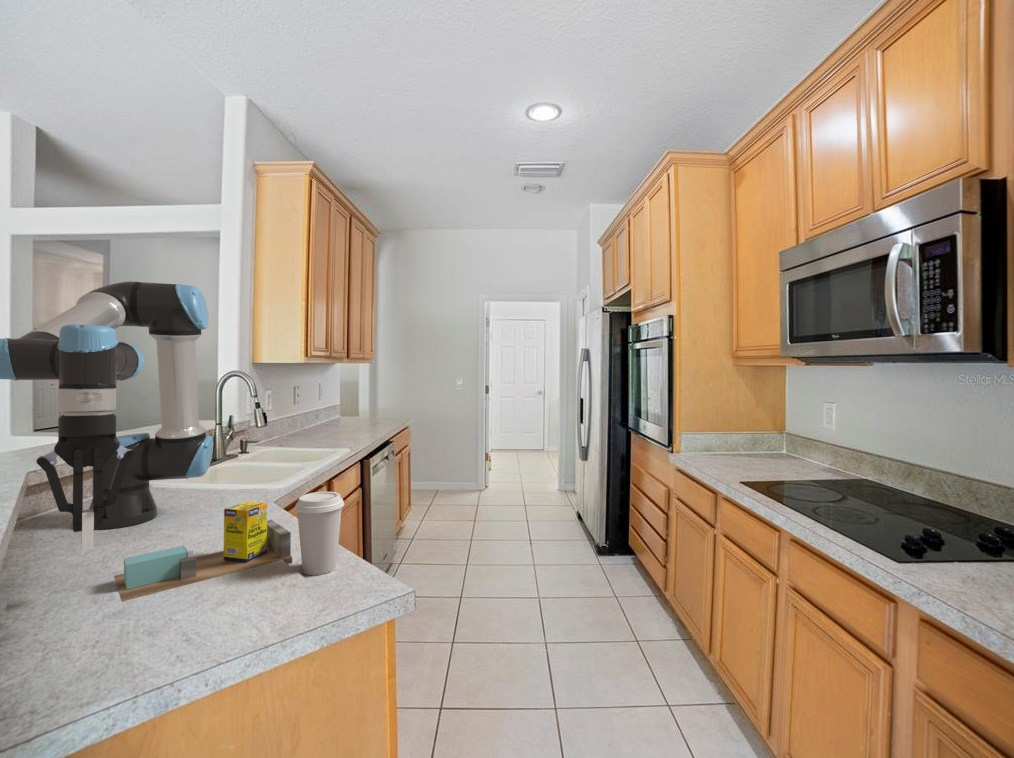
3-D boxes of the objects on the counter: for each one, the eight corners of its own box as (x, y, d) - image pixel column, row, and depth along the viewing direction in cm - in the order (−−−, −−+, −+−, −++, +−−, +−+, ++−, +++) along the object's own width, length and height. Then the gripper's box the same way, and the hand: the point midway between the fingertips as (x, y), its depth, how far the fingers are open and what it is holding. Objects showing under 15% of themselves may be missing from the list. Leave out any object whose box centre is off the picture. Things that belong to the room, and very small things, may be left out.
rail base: (114, 581, 89) (114, 549, 89) (270, 545, 109) (270, 518, 109) (122, 608, 79) (122, 572, 79) (292, 562, 99) (292, 533, 99)
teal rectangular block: (123, 581, 86) (123, 557, 86) (187, 566, 93) (187, 544, 93) (126, 590, 83) (126, 564, 83) (192, 573, 90) (192, 550, 90)
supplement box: (247, 563, 95) (247, 510, 95) (222, 560, 96) (222, 508, 96) (268, 552, 101) (268, 502, 101) (244, 550, 102) (244, 500, 102)
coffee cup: (295, 582, 89) (295, 505, 89) (293, 564, 98) (293, 493, 98) (347, 572, 94) (347, 499, 94) (340, 556, 102) (340, 488, 102)
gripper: (34, 416, 74) (33, 564, 74) (138, 412, 83) (137, 544, 83) (35, 414, 79) (34, 552, 79) (133, 410, 88) (132, 534, 88)
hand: (87, 548), depth 81 cm, fingers closed
